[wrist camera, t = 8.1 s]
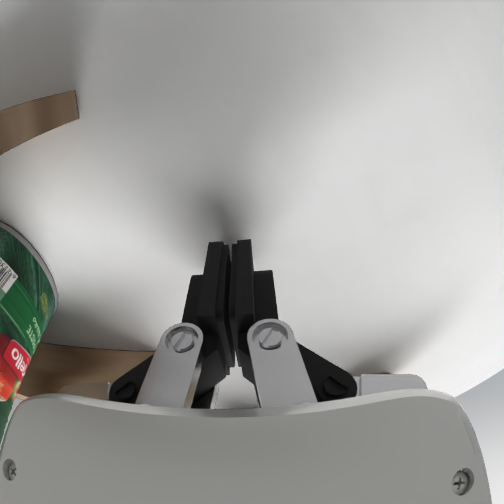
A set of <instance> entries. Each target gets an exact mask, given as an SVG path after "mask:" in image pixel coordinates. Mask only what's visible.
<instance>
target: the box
mask: <svg viewBox="0 0 504 504" xmlns="http://www.w3.org/2000/svg"><path fill="white" fill-rule="evenodd" d="M76 119H79V115H78V109H77V103H76V97H75V91H70V92H66V93H61V94H57V95H52V96H48V97H44V98H41V99H37V100H33V101H30V102H26V103H23V104H20V105H17V106H13V107H10V108H7V109H4V110H2V111H0V155H1V154H3V153H5V152H7V151H8V150H10V149H12V148H14V147H16V146H18V145H20V144H22V143H24V142H26V141H28V140H30V139H32V138H34V137H36V136H38V135H40V134H43V133H45V132H47V131H49V130H52V129H54V128H56V127H59V126H61V125H64V124H66V123H69V122H71V121H74V120H76ZM154 353H155V352H140V351H119V350H104V349H91V348H80V347H71V346H62V345H54V344H46V343H38V345H37V347H36V349H35V352H34V354H33V356H32V358H31V360H30V363H29V365H28V367H27V369H26V372H25V375H24V376H23V378H22V381H21V385H20V387H19V389H18V391H17V394H16V398H18V399H21V400H25V399H27V398H30V397H32V396H37V395H41V394H51V393H58V391H59V390H60V389H61V388H62V387H64V386H66V385H73V384H86V383H97V382H106V381H108V382H109V383H110V384H112V383H113V382H115V381H116V380H117V379H118V378H119V377H121V376H122V375H124V374H125V373H127V372H128V371H130V370H131V369H133V368H134V367H136V366H137V365H138V364H140V363H141V362H143V361H144V360H146V359H147V358H149V357H150V356H151V355H153V354H154Z"/></svg>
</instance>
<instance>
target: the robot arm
mask: <svg viewBox="0 0 504 504" xmlns="http://www.w3.org/2000/svg"><path fill="white" fill-rule="evenodd" d="M235 351H236V356H237V361H238V366H239V367H242V372H243V376H244V377H245V378H246V379H247V380H249V381H250V382H251V383H253V384H254V389H255V394H256V398H257V403H258V407H259V408H247V409H214V408H215V403H216V399H217V395H218V390H219V382H220V381H221V380H223V379H224V378H225V377H226V375H229V373H230V367H234V366H235ZM0 504H492V501H491V494H490V489H489V483H488V478H487V473H486V468H485V464H484V460H483V456H482V452H481V449H480V446H479V443H478V440H477V437H476V434H475V431H474V429H473V427H472V424H471V422H470V420H469V418H468V416H467V414H466V412H465V410H464V409H463V407H462V406H461V404H460V403H459V402H458V401H457V400H456V399H455V398H454V397H452V396H451V395H449V394H446V393H443V392H439V391H435V390H428V389H427V386H426V383H425V382H424V380H423V379H422V378H420V377H419V376H417V375H413V374H361V376H352V375H350V374H349V373H348V372H346V371H344V370H343V369H341V368H339V367H338V366H336V365H334V364H332V363H331V362H329V361H327V360H326V359H324V358H322V357H320V356H319V355H317V354H315V353H314V352H312V351H310V350H309V349H307V348H305V347H304V346H302V345H300V344H299V343H297V342H296V340H295V337H294V334H293V331H292V330H291V328H290V326H289V325H288V324H286V323H285V322H283V321H281V320H278V313H277V304H276V296H275V288H274V280H273V272H272V270H266V271H254V269H253V257H252V246H251V239H248V240H237V244H232V256H231V258H230V251H229V245H224V243H223V241H221V242H209V245H208V251H207V256H206V262H205V267H204V273H203V275H192V277H191V280H190V285H189V289H188V294H187V299H186V303H185V308H184V313H183V318H182V323H179V324H175V325H173V326H171V327H169V328H168V329H167V330H166V331H165V332H164V334H163V335H162V337H161V339H160V342H159V344H158V347H157V349H156V351H155V353H154V354H153V355H151V356H150V357H149V358H147V359H146V360H144V361H143V362H141V363H140V364H138V365H137V366H136V367H134V368H133V369H131V370H130V371H128V372H127V373H125V374H124V375H122V376H121V377H119V378H118V379H117V380H116V381H115V382H113V383H112V384H110V383H109V382H108V381H106V382H97V383H86V384H73V385H66V386H64V387H62V388H61V389H60V390H59V391H58V393H51V394H41V395H37V396H32V397H30V398H27V399H25V400H23V401H22V402H21V403H20V404H19V405H18V406H17V407H16V409H15V411H14V413H13V415H12V417H11V419H10V422H9V424H8V427H7V430H6V433H5V436H4V439H3V443H2V446H1V450H0Z"/></svg>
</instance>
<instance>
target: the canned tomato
mask: <svg viewBox="0 0 504 504" xmlns="http://www.w3.org/2000/svg"><path fill="white" fill-rule="evenodd" d="M57 306H58V294H57V290H56V286H55V283H54V281H53V278H52V276H51V274H50V272H49V270H48V268H47V266H46V264H45V263H44V261H43V260H42V259H41V257H40V256H39V254H38V253H37V252H36V250H35V249H34V248H33V247H32V246H31V245H30V243H29V242H28V241H27V240H26V239H25V238H24V237H22V236H21V235H20V234H19V233H18V232H16V231H15V230H14V229H12V228H11V227H9V226H7V225H6V224H4V223H2V222H0V443H1V440H2V436H3V434H4V429H5V426H6V423H7V421H8V416H9V413H10V411H11V409H12V405H13V401H14V399H15V398H16V394H17V391H18V389H19V387H20V385H21V381H22V378H23V376H24V375H25V372H26V369H27V367H28V365H29V363H30V360H31V358H32V356H33V354H34V352H35V349H36V347H37V345H38V343H39V342H40V339H41V337H42V335H43V333H44V332H45V330H46V327H47V325H48V323H49V321H50V319H51V317H52V316H53V315H54V313H55V312H56V310H57Z"/></svg>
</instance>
